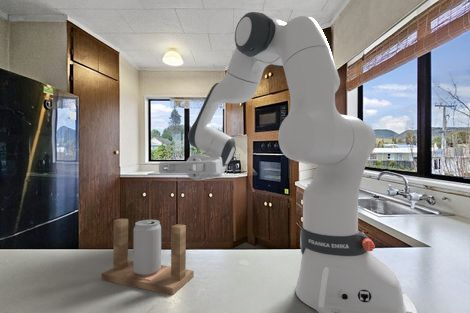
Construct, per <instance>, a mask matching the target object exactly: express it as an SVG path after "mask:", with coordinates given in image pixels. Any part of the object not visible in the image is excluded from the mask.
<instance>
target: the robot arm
mask: <svg viewBox="0 0 470 313" xmlns="http://www.w3.org/2000/svg"><path fill="white" fill-rule="evenodd" d="M234 43H235V44H234V45H235V50H234V52H233V54H232V56H231V58H230V61H229V64H228V67H227V68H226V69H227V70H226V72H225V75H224V77H222V79H221V81H219V82H216V83H214V84H213V86H212V87H211V88H210V89H209V91H208V93H207V96H206V98H205V99H204V102H203V104H202V106H201V108H200V111H199V112H198V115H197V117H196V119H195V121H194V122H193V124H192V126H191V127H190V128H189V131H188V134H187V138H188V142H189V145H190V146H192V147H194V148H196V149H198V150H200V151H201V152H203V153H204V154H200V153H195V154H192V155H190V156H189V157H188V158H187V159H186V161H160V162H158V163H159V164H158V172H159V174H163V175H165V174H167V175H168V174H169V175H170V174H174V175H175V174H186V175H187V176H188V178H189V179H191V180H193V181H203V180H210V179H211V180H212V179H216V178H219V177H222V176H223V174H224V173H225V171H226V169H227V165H230V163H231V162H232V160H233V159H234V157H235V154H236V151H237V144H236V141H235V139H234V138H233V137H231V136H230V135H228V134H226V133H225V132H222V131H221V130H219V129H218V128H216V127H213V126H212V124H211V121H212V120H213V118H214V116H215V113H216V111H217V110H218V108H219V106H220V105H221V104H223V103H224V104H243V103H246V102H248V101H250V100H251V99H252V98H254V95H255V94H256V92H257V91H258V87H259V85H260V82H261V80H262V76H263V74H264V71H265V69H266V68H267V67H268V66H270V65H273V66H274V67H275V68H283V71H284V75H285V79H286V83H287V84H286V85H287V87H288V92H289V96H290V97H289V100H290V104H289V105H290V106H289V112H288V115H286V117H285V118H284V119H283V120H282V122H281V123H280V126H279V130H278V135H277V138H278V139H277V140H278V145H279V149H280V150H281V152H282V154H283V155H284V156H285V157H286V158H288V159H289V160H293V161H295V162H299V163H302V164H305V165H316V169H315V172H314V175H313V177H312V180H311V181H310V182H309V183H308V185H307V186H306V187H305V188H304V191H303V194H302V226H301V228H300V231H299V234H300V239H299V242H300V244H299V245H300V253H301V260H300V261H301V262H300V268H299V274H298V278H297V283H296V285H295V288H294V291H295V294H296V296H297V298H299V300H300V301H302V303H304V304H305V305H307V306H308V307H311V308H312V309H313V310H315V311H316V312H317V313H418V311H417V308H416V306H415V303H413V301H412V300H411V299H410V298H409V297H408V295H407V294H406V293H404V292H403V290H402V286H401V283H400V280H399V279H398V276H397V274H395V272H394V270H392V269H391V267H389V265H387V264H386V263H384V262H383V260H381V259H380V258H378V257H377V256H376V255H375V254H373V252H372V251H374V250H375V247H376V246H375V243H374V241H373V240H372V239H370V238H369V236H368V235H367V234H365V233H364V232H363V231H360V230H359V197H360V189H361V188H360V187H361V184H362V179H363V176H364V171H365V169H366V164H367V162H368V159H369V157H370V155H372V153H373V151H375V148H376V146H377V145H376V144H377V136H376V132H375V130H374V129H373V128H372V126H370V125H369V124H368V123H366V122H365V121H363V120H361V119H360V118H359V117H355V116H351V115H346V114H341V113H340V112H339V111H338V109H337V107H336V93H337V92H338V90H339V88H340V86H341V78H340V75H339V72H338V69H337V65H336V63H335V60H334V57H333V53H332V51H331V48H330V45H329V43H328V41H327V38H326V36H325V33H324V32H323V29H322V28H321V27H320V25H319V24H318V22H317V21H316V19H314V18H313V17H310V16H307V15H299V16H296V17H294V18H291V19H290V20H288V22H285V21H283V20H281V19H279V18H278V17H277V18H276V17H274V16H270V15H266V14H265V13H262V12H257V11H250V12H246V13H245V14H244V15H243V16H242V17H241V18H240V19H239V21H238V23H237V25H236V27H235V31H234Z"/></svg>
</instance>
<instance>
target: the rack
mask: <svg viewBox="0 0 470 313" xmlns="http://www.w3.org/2000/svg"><path fill="white" fill-rule="evenodd" d="M170 227H171V230H170V236H171V237H170V259H171V260H170V266H169V265H168V266H167V265H163V264H161V268H160V269H159V270H158V272H157V273H155V274H152V275H148V276H141V275H138V274H137V273H135V272H134V270H133V259H129V219H128V218H118V219H113V252H112V255H113V261H112V264H113V266H112V268H109V269H108V270H106V271H104V272H102V273H101V281H106V282H110V283H114V284H120V285H124V286H129V287H133V288H137V289H142V290H143V289H144V290H148V291H152V292H155V293H161V294H166V295H171V296H174V295H175V294H177V292H179V291H180V289H182V288H183V287H184V286H185V285H186V284H187V283H189V281H190V280H192V279H193V278H194V274H195V273H194V270H192V269H187V268H186V266H187V261H186V258H187V255H186V253H187V249H186V248H187V247H186V246H187V245H186V244H187V241H186V240H187V232H186V231H187V229H186V228H187V225H186V224H180V223H179V224H178V223H177V224H175V225H171V226H170Z"/></svg>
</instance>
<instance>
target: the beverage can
mask: <svg viewBox="0 0 470 313" xmlns="http://www.w3.org/2000/svg"><path fill="white" fill-rule="evenodd" d="M160 223H161V222H160V220H158V219H143V220H138V221H136V222H135V224H134V227H133V243H132V244H133V248H132V249H133V259H132V260H133V270H134V272H135V273H137V274H138V275H141V276H148V275H152V274H155V273H157V272H158V270H159V269H160V268H161V265H162V225H161V224H160Z"/></svg>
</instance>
